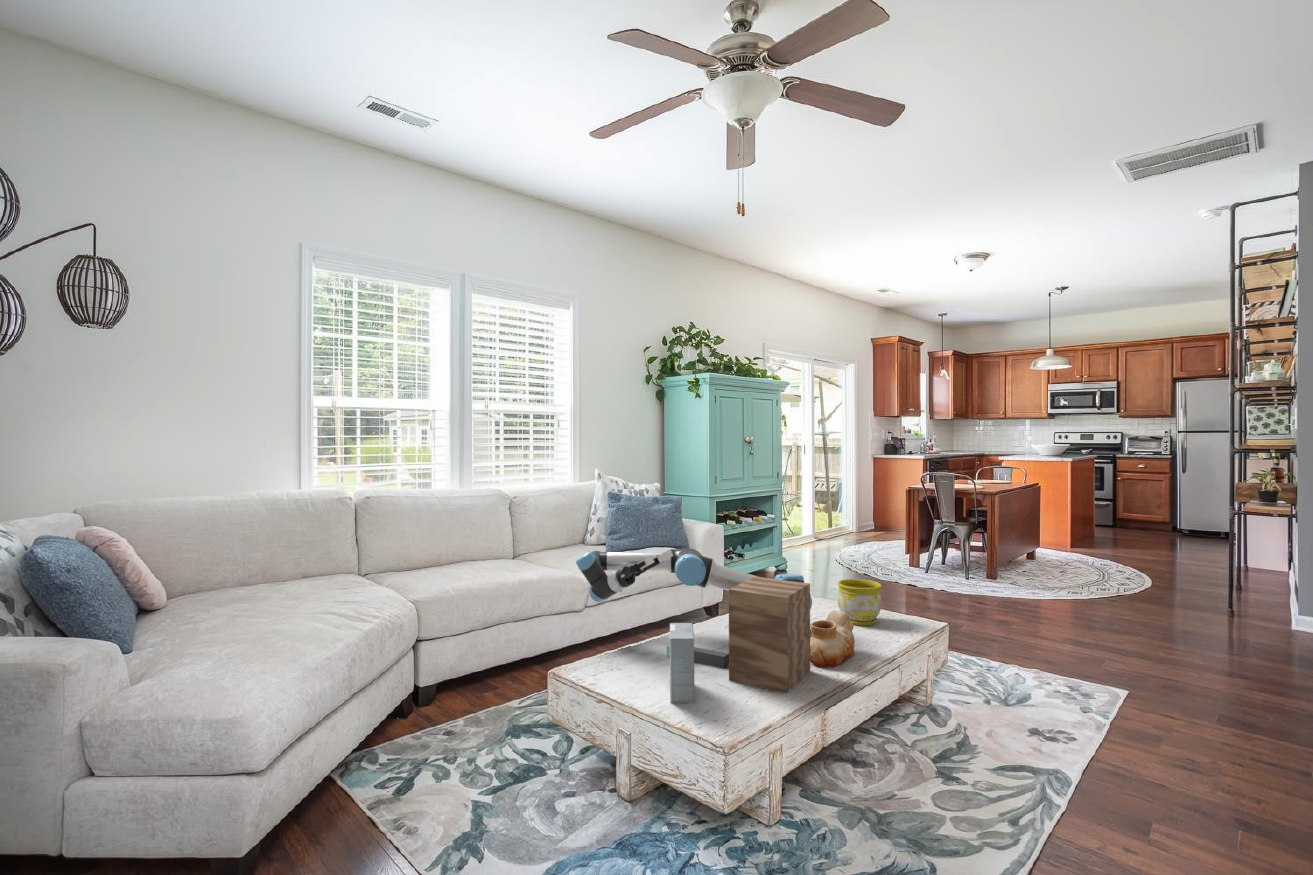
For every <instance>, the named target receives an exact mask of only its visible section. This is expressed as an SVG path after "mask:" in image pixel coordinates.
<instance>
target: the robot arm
mask: <svg viewBox="0 0 1313 875" xmlns="http://www.w3.org/2000/svg"><path fill="white" fill-rule="evenodd" d="M575 564H576V566H577V568H578V570H580V572H581V573H582V574H583V576H584V578H585V579H586V580H587V582H588V583H589V585H590V586H589V589H588V593H589V597H590V598H591V599H592V600H593V601H594V602H596V603H601V602H603V601H604V600H608V599H609V598H611V597H612V596H615V594H617V593H619V592H620V593H622V592H623V590H624V589H626V588H628V587H630V586H632V585H634V583H635V581H636V577H639V576H640V575H642V574H643V573H646V572H647V571H668V572H669V573H670V574H675V576H676V578H677V579H678V581H679V582H680V583H682V584H683V585H685V586H688V587H695V586H697V587H700V588H703V589H706V588H708V587H714V588H717V589H719V590H724V591H726V592H727V591H728V592H729V589H731V588H733V587H735V586H737V585H739V584H741V583H743V582H745V581H748V580H750V579H752V578H754V577H758V575H754V574H750V573H747V572H743V571H741V570H737V569H733V568H730V567H727V566H724V565H720V564H717V563H716V562H715V560H714V559H713V558H710V557H707V556H704V555H703V554H702V553H700V552H699V551H698V550H697V549H694V548H675V549H674V548H673V549H671V548H670V549H668V550H666V551H600V550H597V549H596V550H593V551H587V552H585V553H583V554H582V555H581V556H579V557H578V558H577V559H576V561H575ZM606 571H613V572H611V573H610V574H607V572H606ZM774 579H779V580H787V581H795V582H803V583H805V578H804V575H803V574H802V575H801V574H796V573H795V574H793V573H785V574H784V573H781V574H776V575H775V577H774ZM812 605H813V598H812V596H811V594H810V610H811V609H812Z"/></svg>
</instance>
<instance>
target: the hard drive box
mask: <svg viewBox="0 0 1313 875" xmlns="http://www.w3.org/2000/svg"><path fill="white" fill-rule="evenodd" d="M669 644H670V657H669V693H670V694H669V696H670V697H669V698H670V699H669V701H670V703H671V704H694V703H695V662H694V647H695V634H694V624H693V623H692V622H670V623H669Z"/></svg>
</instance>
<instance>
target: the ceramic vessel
mask: <svg viewBox="0 0 1313 875" xmlns="http://www.w3.org/2000/svg"><path fill="white" fill-rule="evenodd" d="M854 626H855V625H853V623H852V622H851V621H850V620H849V616H848V614H847V613H845V612H841V611H837V610H832V611H829V613H828V615H827V618H826V619H825V620H824V619H820V620H815V621H812V622H810V664H812V666H815V667H818V668H826V667H838V666H841V665H842V664H843V663H845V661H846V660H848V659H851V658H853V657H854V656H855V651H854V649H855V635H854V633H853V630H854Z"/></svg>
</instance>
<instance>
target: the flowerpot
mask: <svg viewBox="0 0 1313 875" xmlns="http://www.w3.org/2000/svg"><path fill="white" fill-rule="evenodd" d="M837 585H838V596H837V604H838V609H839V612H845V613H847V614H848V616H849V620H850V621H851V622H852V623H853V626H861V627H862V626H863V627H864V626H871V625H874V624H875V623H876V622H877V621H878V619H877V617H878V616H879V614H880V612H881V609H882V596H881V593H882V591H881V589H882V584H881V583H880V582H878V581H875V580H871V579H862V578H846V579H845V578H844V579H841V580H839V581H838V582H837Z"/></svg>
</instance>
